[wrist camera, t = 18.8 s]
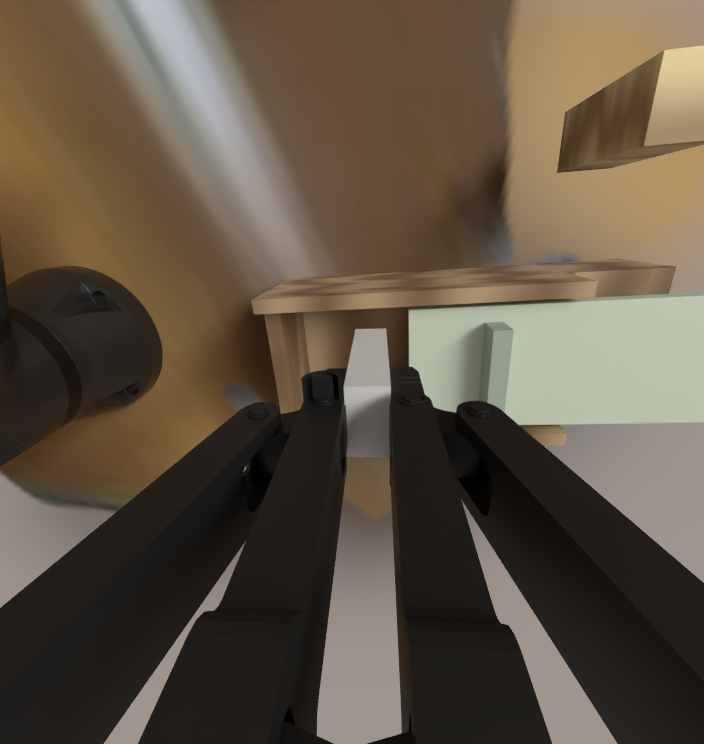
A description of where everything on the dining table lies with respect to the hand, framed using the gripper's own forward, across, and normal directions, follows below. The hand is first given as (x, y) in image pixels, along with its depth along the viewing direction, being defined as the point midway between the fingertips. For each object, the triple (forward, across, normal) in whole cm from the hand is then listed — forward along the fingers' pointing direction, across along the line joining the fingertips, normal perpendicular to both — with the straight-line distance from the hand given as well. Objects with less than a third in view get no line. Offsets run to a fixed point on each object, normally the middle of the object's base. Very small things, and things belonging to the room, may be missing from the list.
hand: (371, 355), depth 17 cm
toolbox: (+16, +7, -4) cm, 18 cm away
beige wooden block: (+16, +17, +11) cm, 26 cm away
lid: (+8, +13, -4) cm, 16 cm away
